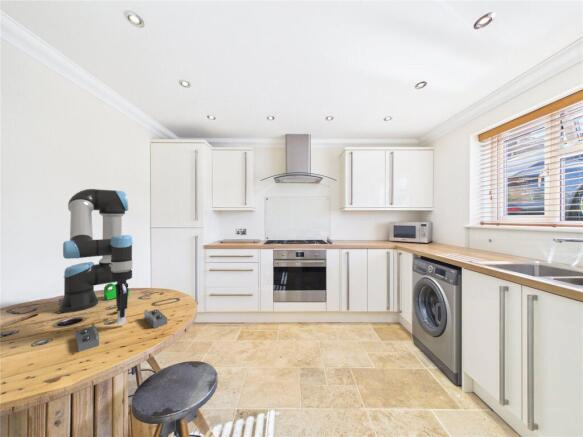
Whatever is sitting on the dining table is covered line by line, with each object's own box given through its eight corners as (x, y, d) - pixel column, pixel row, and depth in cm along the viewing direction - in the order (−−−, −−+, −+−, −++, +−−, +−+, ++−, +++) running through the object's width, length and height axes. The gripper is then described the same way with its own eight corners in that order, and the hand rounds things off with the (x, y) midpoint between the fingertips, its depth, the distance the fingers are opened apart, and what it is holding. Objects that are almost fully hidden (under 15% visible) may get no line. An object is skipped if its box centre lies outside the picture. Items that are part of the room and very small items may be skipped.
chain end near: (75, 338, 88) (75, 328, 88) (94, 333, 92) (93, 323, 92) (78, 353, 79) (78, 341, 79) (99, 346, 83) (99, 335, 83)
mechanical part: (107, 299, 130) (107, 286, 130) (103, 297, 134) (103, 284, 134) (131, 294, 140) (131, 281, 140) (127, 292, 144) (127, 280, 144)
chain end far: (144, 318, 105) (144, 310, 105) (157, 315, 110) (157, 306, 110) (153, 328, 96) (153, 319, 96) (167, 324, 100) (167, 315, 100)
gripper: (108, 269, 99) (108, 322, 99) (113, 274, 90) (113, 332, 90) (128, 266, 105) (128, 316, 105) (135, 271, 96) (135, 325, 96)
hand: (121, 323), depth 98 cm, fingers closed
